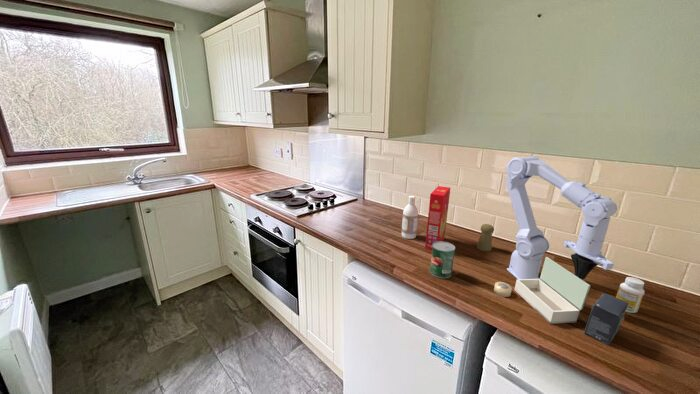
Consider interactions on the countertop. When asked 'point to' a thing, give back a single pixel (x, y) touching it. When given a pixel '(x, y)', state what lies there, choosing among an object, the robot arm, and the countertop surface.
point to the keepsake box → (546, 301)
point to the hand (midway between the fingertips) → (579, 278)
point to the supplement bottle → (631, 293)
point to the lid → (565, 283)
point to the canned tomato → (442, 259)
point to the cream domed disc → (502, 289)
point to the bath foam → (410, 219)
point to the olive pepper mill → (485, 238)
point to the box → (605, 318)
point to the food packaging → (437, 216)
